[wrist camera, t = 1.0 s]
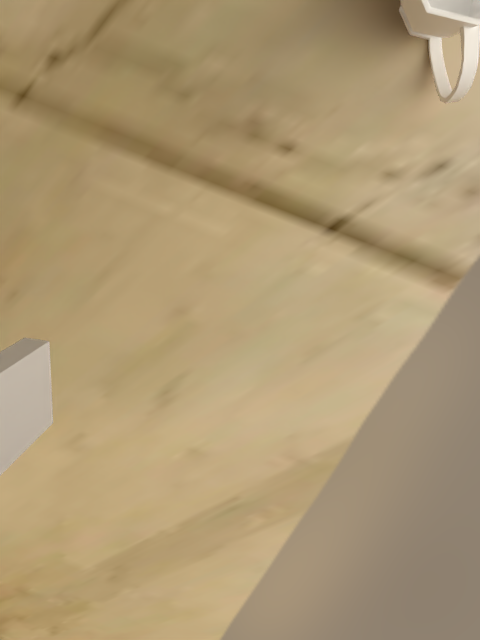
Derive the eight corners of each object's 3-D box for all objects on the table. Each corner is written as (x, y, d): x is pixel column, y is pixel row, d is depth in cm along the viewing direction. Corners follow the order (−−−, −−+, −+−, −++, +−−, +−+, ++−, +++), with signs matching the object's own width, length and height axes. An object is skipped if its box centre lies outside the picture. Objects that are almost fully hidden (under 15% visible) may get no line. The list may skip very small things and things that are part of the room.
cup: (492, -74, 28) (563, -169, 20) (489, 101, 31) (551, 76, 23) (375, -48, 29) (401, -128, 21) (383, 119, 32) (408, 100, 24)
